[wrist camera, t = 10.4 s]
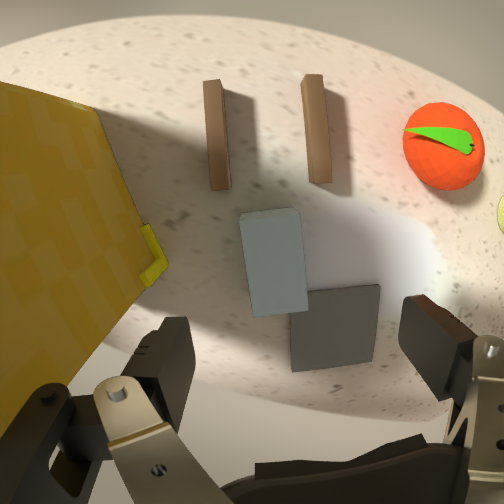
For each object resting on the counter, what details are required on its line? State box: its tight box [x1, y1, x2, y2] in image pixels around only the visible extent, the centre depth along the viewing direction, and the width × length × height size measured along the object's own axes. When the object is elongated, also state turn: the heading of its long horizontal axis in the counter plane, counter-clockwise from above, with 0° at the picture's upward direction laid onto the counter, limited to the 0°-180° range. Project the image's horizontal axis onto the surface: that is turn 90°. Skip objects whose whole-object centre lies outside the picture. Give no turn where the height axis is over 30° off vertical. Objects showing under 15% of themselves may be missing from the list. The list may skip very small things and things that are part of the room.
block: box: [239, 207, 308, 318], centre depth 22 cm, size 4×7×4 cm, turn 8°
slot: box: [203, 74, 332, 191], centre depth 20 cm, size 8×8×2 cm
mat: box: [290, 284, 380, 372], centre depth 26 cm, size 8×8×1 cm
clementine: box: [403, 102, 485, 190], centre depth 18 cm, size 8×7×7 cm
